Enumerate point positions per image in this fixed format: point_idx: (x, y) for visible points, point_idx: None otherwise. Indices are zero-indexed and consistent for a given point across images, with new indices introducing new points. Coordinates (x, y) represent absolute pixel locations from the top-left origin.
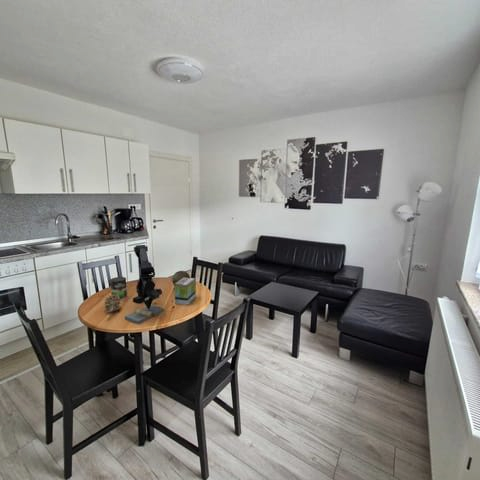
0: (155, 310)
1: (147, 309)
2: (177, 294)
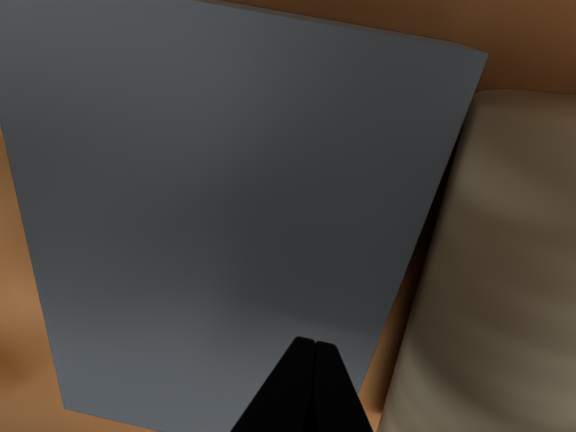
0: (261, 141)
1: None
2: None
